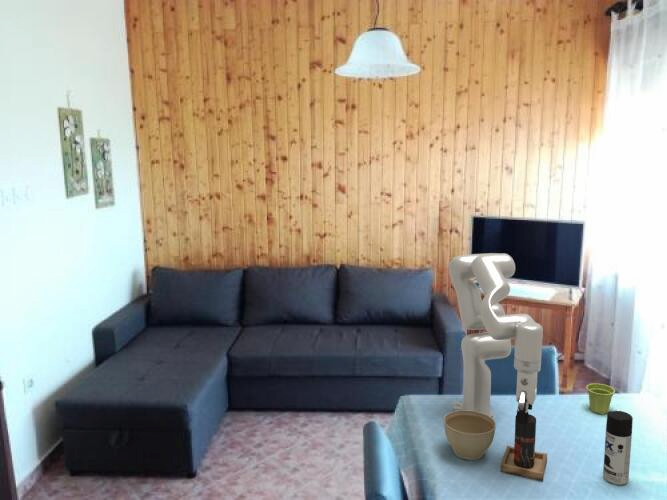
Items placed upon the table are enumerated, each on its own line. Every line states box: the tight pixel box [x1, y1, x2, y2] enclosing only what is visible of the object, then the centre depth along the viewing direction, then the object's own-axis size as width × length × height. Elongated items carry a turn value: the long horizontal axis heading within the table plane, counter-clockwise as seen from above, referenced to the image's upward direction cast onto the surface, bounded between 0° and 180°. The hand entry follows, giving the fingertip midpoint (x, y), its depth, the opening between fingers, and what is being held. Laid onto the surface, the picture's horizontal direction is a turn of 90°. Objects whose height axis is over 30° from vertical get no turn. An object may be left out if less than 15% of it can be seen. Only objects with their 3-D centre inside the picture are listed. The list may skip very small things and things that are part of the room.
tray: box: [500, 445, 548, 482], centre depth 166 cm, size 12×12×2 cm
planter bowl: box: [443, 410, 497, 461], centre depth 174 cm, size 16×16×11 cm
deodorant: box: [513, 413, 537, 469], centre depth 165 cm, size 6×6×15 cm
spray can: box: [602, 410, 634, 486], centre depth 157 cm, size 7×7×20 cm
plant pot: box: [586, 382, 616, 415], centre depth 199 cm, size 9×9×9 cm
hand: (524, 415), depth 164 cm, fingers open, 9 cm apart
